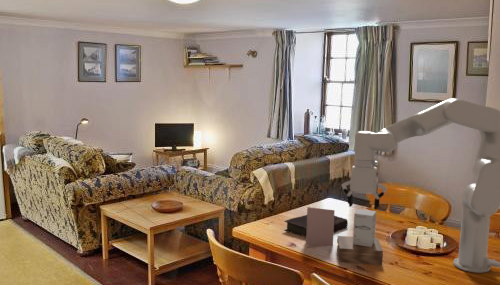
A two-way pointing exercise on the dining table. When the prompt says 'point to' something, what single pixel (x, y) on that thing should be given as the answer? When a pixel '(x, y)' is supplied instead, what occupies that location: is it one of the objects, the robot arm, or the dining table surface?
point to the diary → (300, 225)
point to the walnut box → (359, 252)
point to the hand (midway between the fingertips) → (363, 207)
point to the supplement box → (364, 227)
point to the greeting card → (319, 227)
